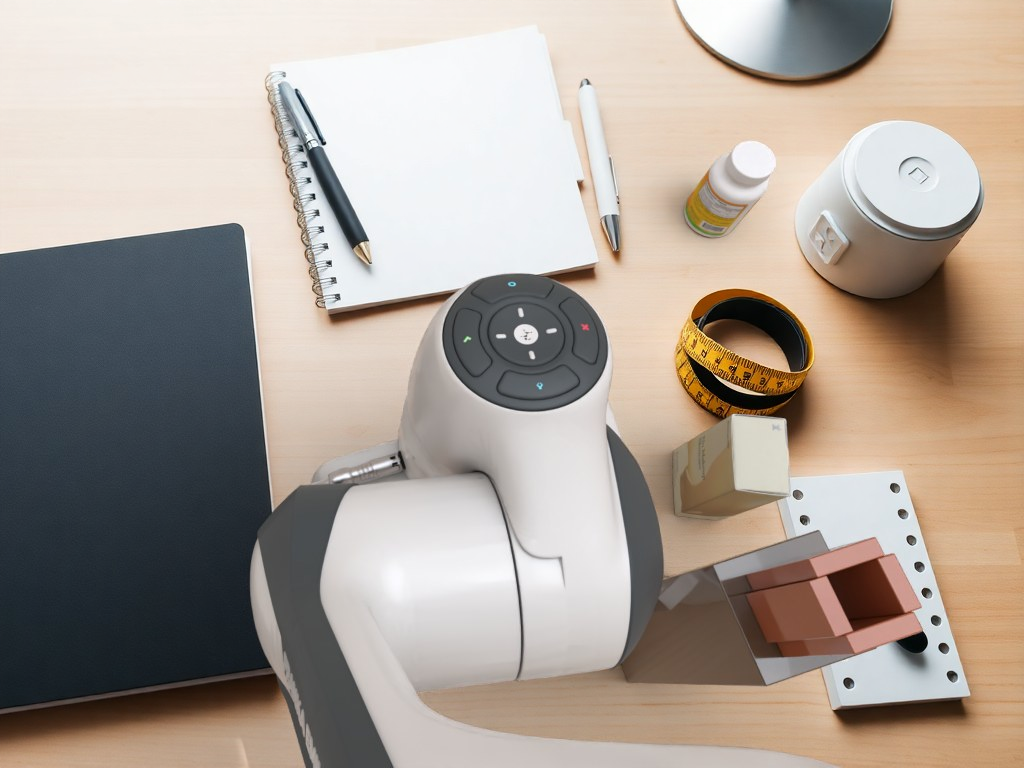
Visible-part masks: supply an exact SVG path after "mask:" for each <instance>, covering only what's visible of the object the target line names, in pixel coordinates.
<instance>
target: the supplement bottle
mask: <svg viewBox="0 0 1024 768" xmlns="http://www.w3.org/2000/svg"><path fill="white" fill-rule="evenodd" d="M776 166H777V158H776V155H775V154H774V152H773V150H771V148H770V147H768V145H766V144H764V143H762V142H760V141H757V140H745V141H742V142H739V143H738V144H736V146H734V147H733V149H732V150H731V151H730V152H726V153H724V154H722V155H720V156H719V157H718V158H716V159H715V161H714V162H713V163H712V164H711V166H710V167H709V169H708V170H707V171H706V173H705V174H704V175H703V177H702V178H701V180H700V181H699V182H698V184H697V185H696V187H695V188H694V190H693V191H692V192H691V194H690V195H689V197H688V198H687V200H686V201H685V204H684V206H683V207H684V208H683V212H684V213H683V215H684V218H685V221H686V223H687V225H688V226H689V227H690V229H692V230H693V231H694V232H696V233H697V234H700V235H701V236H703V237H706V238H713V239H714V238H715V239H716V238H721V237H725V236H727V235H729V234H730V233H732V232H733V231H734V230H735V229H736V228H737V226H738V225H739V224H740V223H741V222H742V220H743V219H744V218H745V217H746V216H747V215H748V214H749V212H750V211H751V210H752V209H753V208H754V206H756V205H757V203H758V202H759V201H760V200H761V198H763V196H764V195H765V193H766V192H767V190H768V188H769V185H770V177H771V176H772V174H773V173H774V171H775V169H776Z"/></svg>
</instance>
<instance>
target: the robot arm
mask: <svg viewBox="0 0 1024 768" xmlns="http://www.w3.org/2000/svg"><path fill="white" fill-rule="evenodd" d="M613 372H614V355H613V347H612V342H611V338H610V333H609V331H608V328H607V325H606V324H605V322H604V320H603V318H602V316H601V315H600V314H599V312H598V311H597V309H596V308H595V307H594V306H593V304H591V303H590V301H588V299H586V298H585V297H584V296H582V295H581V294H580V292H579V293H578V292H577V291H576V290H574V289H572V288H571V287H569V286H568V285H565V284H563V283H562V282H559V281H557V280H555V279H552V278H549V277H546V276H542V275H539V274H533V273H523V272H520V273H519V272H511V273H510V272H508V273H498V274H492V275H487V276H484V277H480V278H478V279H476V280H473V281H472V282H470V283H467V284H465V286H462V287H460V289H458V290H457V291H455V292H454V293H453V294H452V295H451V296H449V297H448V298H447V299H446V300H445V301H444V302H443V303H442V304H441V306H440V307H439V308H438V309H437V311H436V313H435V314H434V315H433V316H432V319H431V320H430V322H429V323H428V326H426V329H425V331H424V333H423V335H422V338H421V340H420V342H419V345H418V347H417V349H416V352H415V356H414V359H413V362H412V365H411V369H410V372H409V376H408V382H407V389H406V391H407V392H406V393H407V394H406V396H405V399H404V403H403V406H402V412H401V416H400V420H399V425H398V429H397V430H398V431H397V438H396V439H392V440H389V441H386V442H383V443H379V444H376V445H372V446H368V447H365V448H362V449H358V450H356V451H352V452H349V453H345V454H343V455H340V456H337V457H335V458H332V459H330V460H328V461H326V462H324V463H322V464H321V465H320V466H319V467H318V468H317V469H316V470H315V471H314V473H313V475H312V477H311V480H310V483H309V484H300V485H299V486H297V488H295V489H294V490H293V491H292V492H291V493H289V494H288V495H287V496H286V497H285V498H284V499H283V501H281V502H280V503H279V504H278V506H276V508H275V509H274V510H272V512H271V513H270V514H269V516H267V518H266V519H265V521H264V522H263V524H262V525H261V526H260V527H259V529H258V530H257V531H256V538H257V539H256V541H255V543H254V547H253V551H252V554H251V562H250V568H249V569H250V570H249V592H250V603H251V604H250V605H251V611H252V616H253V623H254V626H255V630H256V633H257V637H258V640H259V644H260V646H261V648H262V650H263V653H264V656H265V657H266V659H267V661H268V663H269V665H270V666H271V668H272V670H273V671H274V673H275V675H276V680H277V684H278V687H279V689H280V691H281V694H282V696H283V698H284V700H285V703H286V705H287V708H288V712H289V714H290V718H291V721H292V725H293V729H294V732H295V735H296V738H297V739H296V740H297V743H298V746H299V749H300V753H301V756H302V760H303V764H304V766H305V768H844V767H843V766H839V765H836V764H833V763H831V762H826V761H823V760H819V759H816V758H812V757H808V756H804V755H801V754H796V753H790V752H784V751H778V750H772V749H765V748H756V747H748V746H747V747H746V746H734V745H733V746H732V745H716V744H690V743H688V744H685V743H658V742H657V743H656V742H654V743H653V742H625V741H600V740H581V739H569V738H567V739H566V738H553V737H543V736H535V735H527V734H519V733H518V734H517V733H512V732H506V731H505V732H504V731H499V730H493V729H489V728H484V727H479V726H475V725H470V724H467V723H463V722H461V721H457V720H456V719H451V718H449V717H447V716H445V715H442V714H440V713H438V712H437V711H435V710H434V709H432V708H430V707H428V705H426V704H425V702H423V701H422V699H421V698H420V696H419V695H418V694H419V693H426V692H435V691H436V692H437V691H443V690H451V689H458V688H466V687H474V686H482V685H490V684H497V683H507V682H513V681H516V682H524V681H528V680H538V679H539V680H540V679H548V678H557V677H563V676H571V675H578V674H584V673H591V672H599V671H603V670H610V671H611V670H615V669H616V668H618V667H619V666H620V665H621V663H622V662H623V661H624V660H625V659H626V658H627V657H628V656H629V654H630V653H631V652H632V651H633V649H634V648H635V646H636V645H637V643H638V642H639V640H640V638H641V637H642V635H643V633H644V631H645V629H646V626H647V624H648V622H649V620H650V618H651V616H652V613H653V611H654V608H655V606H656V603H657V600H658V598H659V595H660V591H661V587H662V582H663V578H664V570H665V560H664V559H665V558H664V557H665V556H664V547H663V540H662V534H661V529H660V523H659V518H658V514H657V509H656V506H655V502H654V499H653V496H652V494H651V491H650V488H649V485H648V483H647V480H646V478H645V475H644V473H643V471H642V468H641V466H640V464H639V462H638V461H637V459H636V457H635V456H634V454H633V453H632V452H631V451H630V449H629V448H628V447H627V445H626V444H625V442H624V441H623V439H622V435H621V432H620V428H619V425H618V421H617V419H616V416H615V414H614V411H613V408H612V406H611V405H612V404H611V403H610V401H609V395H610V391H611V386H612V378H613V374H614V373H613Z"/></svg>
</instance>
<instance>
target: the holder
mask: <svg viewBox="0 0 1024 768" xmlns="http://www.w3.org/2000/svg"><path fill="white" fill-rule="evenodd" d="M824 538H825V537H824V536H823V533H822V532H821V530H820V529H817V530H813V531H810V532H807V533H803V534H800V535H797V536H794V537H790V538H788V539H784V540H782V541H777V542H774V543H771V544H768V545H765V546H762V547H759V548H755V549H752V550H749V551H746V552H742V553H740V554H739V553H738V554H735V555H733V556H729V557H726V558H723V559H720V560H716V561H713V562H710V563H707V564H703V565H701V566H697V567H694V568H691V569H688V570H685V571H682V572H677V573H675V574H671V575H668V576H665V577H663V582H662V587H661V591H660V595H659V598H658V600H657V603H656V606H655V608H654V611H653V613H652V616H651V618H650V620H649V622H648V624H647V626H646V629H645V631H644V633H643V635H642V637H641V638H640V640H639V642H638V643H637V645H636V646H635V648H634V649H633V651H632V652H631V653H630V654H629V656H628V657H627V658H626V659H625V660H624V661H623V662H622V663H621V664H620V665H621V668H622V670H623V673H624V676H625V678H626V681H627V683H628V684H649V685H650V684H651V685H652V684H653V685H657V684H658V685H692V686H693V685H695V686H731V687H732V686H733V687H769V686H772V685H775V684H778V683H781V682H784V681H786V680H789V679H792V678H796V677H799V676H801V675H804V674H807V673H811V672H813V671H815V670H819V669H821V668H824V667H827V666H830V665H833V664H836V663H839V662H842V661H844V660H848V659H850V658H854V657H857V656H859V655H863V654H865V653H868V652H870V651H873V650H877V649H878V648H879V647H882V646H885V645H888V644H890V643H894V642H896V641H899V640H902V639H905V638H908V637H911V636H913V635H914V636H915V635H917V634H920V633H922V632H923V631H924V629H923V626H922V624H921V623H920V621H919V619H918V617H917V614H916V613H915V612H914V611H917V610H920V609H922V608H923V605H922V604H921V602H920V599H919V598H918V596H917V593H916V592H915V590H914V588H913V586H912V584H911V582H910V581H909V578H908V577H907V574H906V573H905V571H904V568H903V567H902V565H901V563H900V561H899V559H898V557H897V556H896V554H895V553H894V552H892V553H887V554H885V552H884V550H883V548H882V546H881V544H880V542H879V541H878V538H877V537H876V536H873V537H869V538H864V539H861V540H857V541H854V542H849V543H846V544H842V545H838V546H835V547H830V548H829V546H828V544H827V542H826V540H825V539H824Z"/></svg>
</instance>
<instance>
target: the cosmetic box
mask: <svg viewBox="0 0 1024 768" xmlns="http://www.w3.org/2000/svg"><path fill="white" fill-rule="evenodd" d="M788 440H789V439H788V427H787V419H786V418H782V417H774V416H765V415H754V414H744V413H743V414H740V413H732V414H730V415H729V416H727V417H726V418H724V419H722V420H720V421H719V422H718V423H716V424H714V425H712V426H710V427H709V428H707V429H706V430H704V431H702V432H701V433H700V434H698V435H695V436H694V437H693V438H691V439H690V440H687V441H686V442H684V443H683V444H681V445H680V446H678V447H677V448H675V449H674V450H673V454H672V455H673V457H672V458H673V459H672V463H673V464H672V465H673V466H672V470H673V471H672V477H673V478H672V479H673V481H672V483H673V486H672V487H673V504H674V515H675V516H677V517H685V518H692V519H693V518H694V519H700V520H710V521H711V520H712V521H723V520H725V519H728V518H731V517H734V516H737V515H739V514H743V513H745V512H749V511H752V510H755V509H757V508H760V507H763V506H765V505H769V504H771V503H775V502H777V501H781V500H783V499H786V498H790V497H791V495H792V488H791V487H792V485H791V472H790V453H789V442H788Z"/></svg>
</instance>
